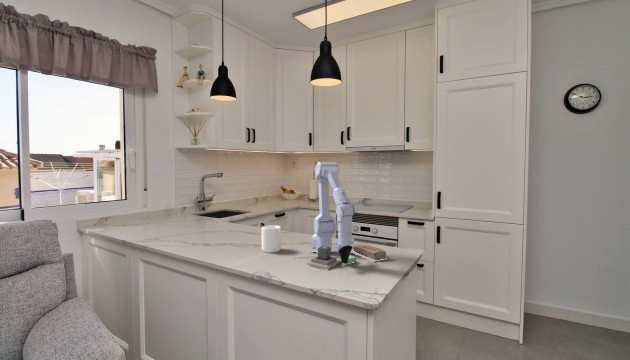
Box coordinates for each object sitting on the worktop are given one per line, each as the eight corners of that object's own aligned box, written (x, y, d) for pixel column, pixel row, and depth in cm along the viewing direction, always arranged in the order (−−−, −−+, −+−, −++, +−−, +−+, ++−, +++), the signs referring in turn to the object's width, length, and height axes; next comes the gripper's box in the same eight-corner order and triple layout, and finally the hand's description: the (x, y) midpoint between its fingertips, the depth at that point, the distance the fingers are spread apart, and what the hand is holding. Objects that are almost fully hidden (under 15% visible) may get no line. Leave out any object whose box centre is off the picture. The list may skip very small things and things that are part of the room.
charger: (317, 261, 131) (317, 247, 131) (322, 259, 134) (322, 245, 134) (325, 263, 129) (325, 249, 128) (330, 260, 132) (330, 247, 132)
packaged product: (390, 249, 139) (373, 252, 134) (389, 260, 139) (373, 263, 134) (364, 240, 154) (348, 243, 149) (364, 250, 155) (348, 253, 149)
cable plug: (342, 263, 133) (342, 257, 133) (351, 260, 137) (351, 254, 137) (348, 265, 130) (348, 259, 130) (357, 262, 134) (357, 256, 134)
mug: (270, 254, 145) (270, 230, 144) (254, 249, 153) (254, 226, 152) (284, 250, 152) (284, 227, 152) (268, 245, 160) (268, 223, 159)
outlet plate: (307, 265, 130) (307, 259, 129) (322, 258, 140) (322, 252, 139) (327, 270, 124) (327, 263, 124) (341, 262, 134) (341, 256, 134)
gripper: (345, 236, 121) (344, 269, 122) (360, 229, 133) (360, 260, 134) (330, 233, 125) (329, 266, 126) (346, 227, 137) (346, 257, 138)
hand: (344, 263), depth 130 cm, fingers closed
